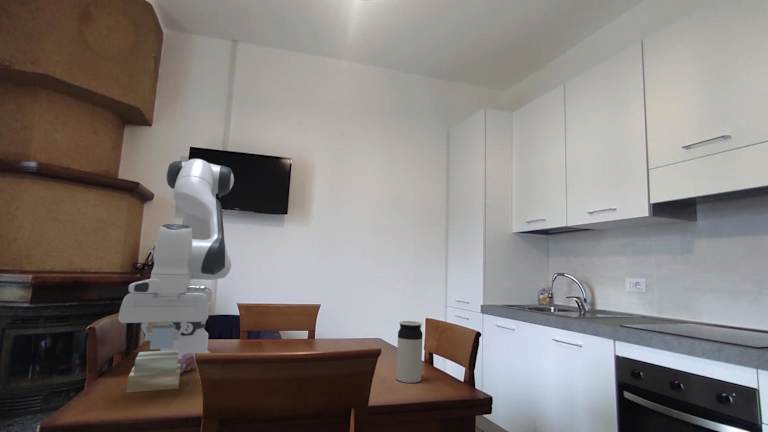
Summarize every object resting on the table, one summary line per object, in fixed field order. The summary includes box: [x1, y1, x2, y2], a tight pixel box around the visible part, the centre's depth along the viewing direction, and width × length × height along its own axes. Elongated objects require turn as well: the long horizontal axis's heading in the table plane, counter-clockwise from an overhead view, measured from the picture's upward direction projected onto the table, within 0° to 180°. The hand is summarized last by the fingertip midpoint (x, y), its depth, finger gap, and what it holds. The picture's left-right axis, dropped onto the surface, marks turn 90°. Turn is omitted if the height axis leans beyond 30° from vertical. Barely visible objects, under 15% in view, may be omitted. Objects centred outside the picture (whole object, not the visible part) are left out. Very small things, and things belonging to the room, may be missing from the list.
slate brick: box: [149, 324, 176, 350], centre depth 100 cm, size 5×5×5 cm
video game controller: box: [177, 353, 196, 375], centre depth 123 cm, size 10×5×7 cm, turn 169°
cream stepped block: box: [126, 350, 181, 394], centre depth 110 cm, size 12×12×8 cm
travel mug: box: [395, 320, 423, 384], centre depth 127 cm, size 8×8×18 cm
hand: (162, 340), depth 100 cm, fingers closed on slate brick, 5 cm apart
